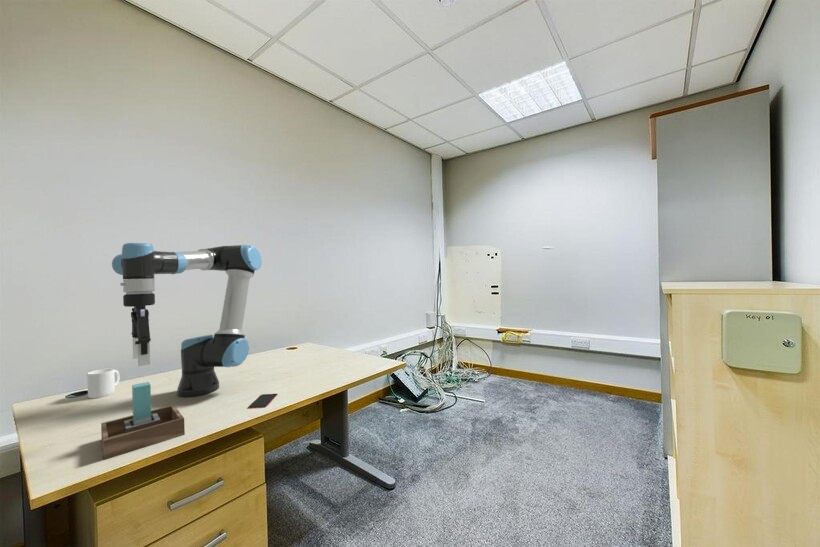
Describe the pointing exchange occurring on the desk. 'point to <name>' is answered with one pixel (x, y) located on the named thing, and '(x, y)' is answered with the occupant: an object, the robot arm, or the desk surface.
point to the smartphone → (262, 401)
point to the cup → (102, 382)
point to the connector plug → (141, 403)
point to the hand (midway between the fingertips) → (141, 361)
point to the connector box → (141, 431)
